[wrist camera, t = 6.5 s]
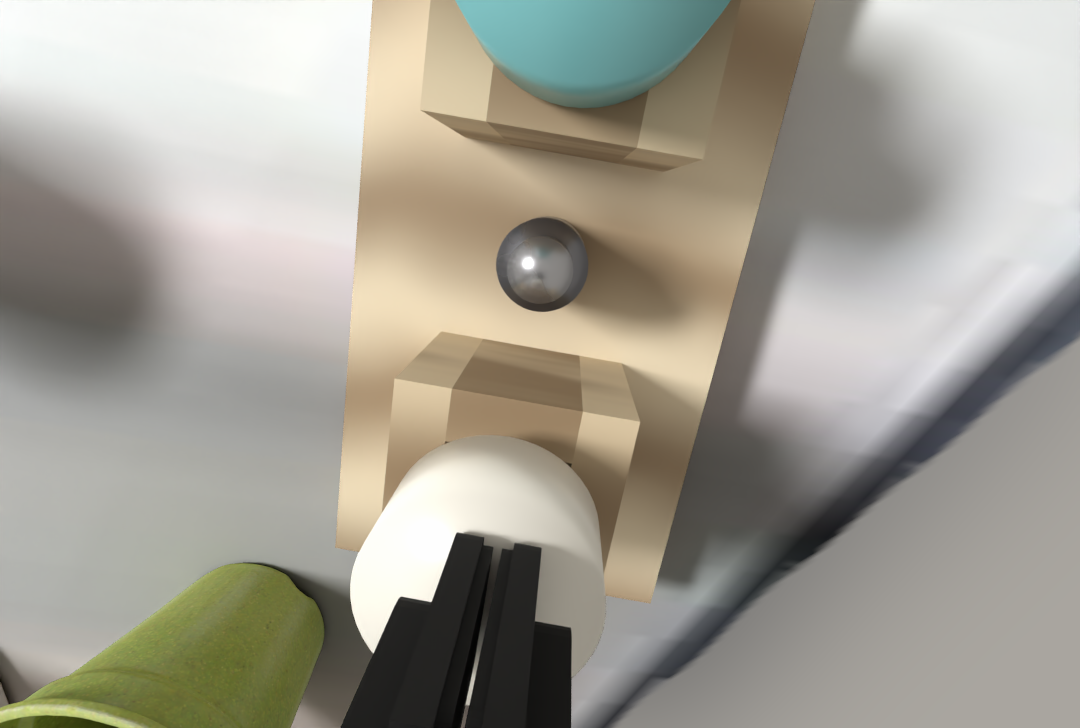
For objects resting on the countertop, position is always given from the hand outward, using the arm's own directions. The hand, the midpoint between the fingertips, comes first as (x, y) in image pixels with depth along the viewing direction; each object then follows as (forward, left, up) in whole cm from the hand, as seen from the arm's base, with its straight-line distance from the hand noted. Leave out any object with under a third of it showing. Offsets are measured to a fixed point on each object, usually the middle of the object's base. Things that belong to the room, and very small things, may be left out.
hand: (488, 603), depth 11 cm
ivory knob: (0, 0, -8) cm, 8 cm away
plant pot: (-12, +10, -11) cm, 19 cm away
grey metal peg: (+6, 0, -9) cm, 10 cm away
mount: (+6, 0, -11) cm, 12 cm away
